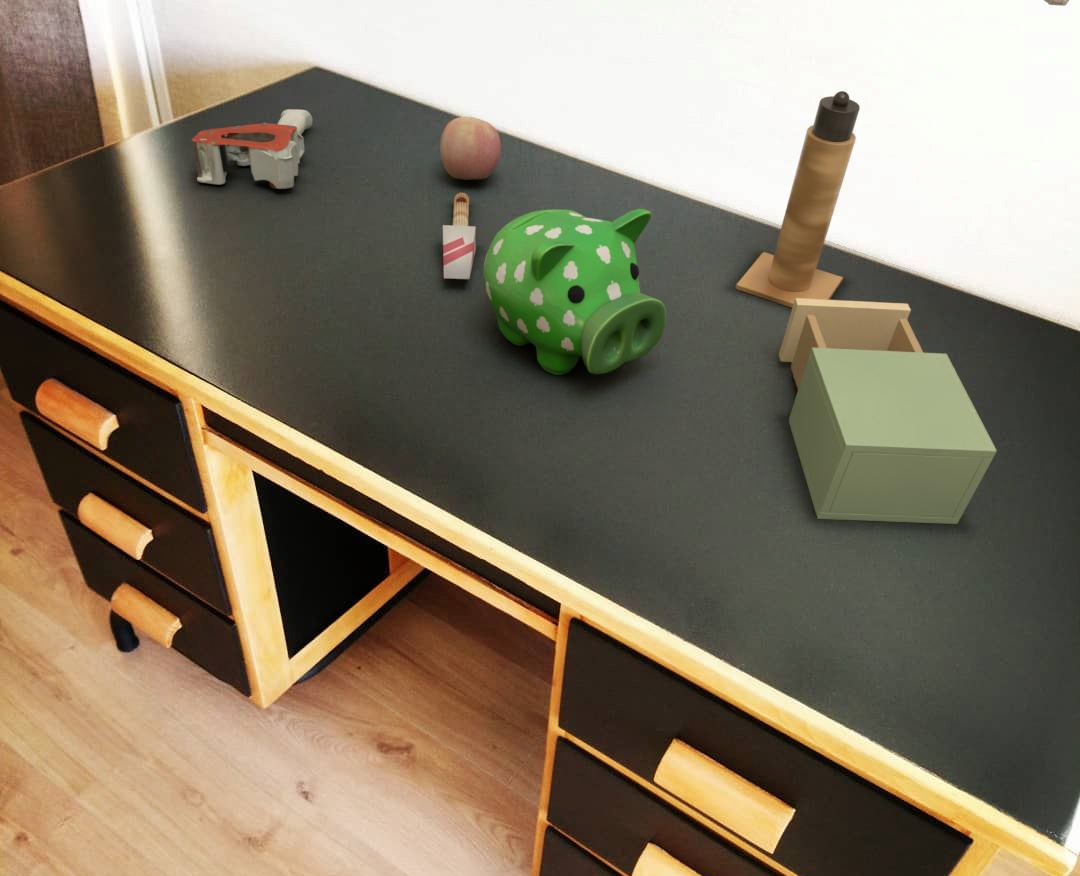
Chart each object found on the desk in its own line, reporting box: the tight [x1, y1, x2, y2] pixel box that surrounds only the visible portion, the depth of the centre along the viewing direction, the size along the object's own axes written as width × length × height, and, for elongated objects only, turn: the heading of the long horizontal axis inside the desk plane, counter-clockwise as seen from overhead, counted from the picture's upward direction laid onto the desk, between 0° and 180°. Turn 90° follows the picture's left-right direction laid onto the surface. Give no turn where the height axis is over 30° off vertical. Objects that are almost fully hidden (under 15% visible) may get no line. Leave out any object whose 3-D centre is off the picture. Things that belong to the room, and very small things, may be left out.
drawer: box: [778, 298, 924, 390], centre depth 92 cm, size 14×11×7 cm
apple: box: [439, 116, 502, 181], centre depth 120 cm, size 8×8×8 cm
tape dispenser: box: [190, 108, 314, 190], centre depth 120 cm, size 18×5×20 cm
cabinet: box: [788, 348, 998, 525], centre depth 84 cm, size 14×13×9 cm
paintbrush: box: [442, 192, 477, 280], centre depth 110 cm, size 4×3×20 cm
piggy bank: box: [482, 208, 667, 376], centre depth 92 cm, size 14×18×15 cm
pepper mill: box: [769, 90, 860, 292], centre depth 101 cm, size 5×5×21 cm
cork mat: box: [735, 251, 844, 309], centre depth 109 cm, size 10×9×1 cm
